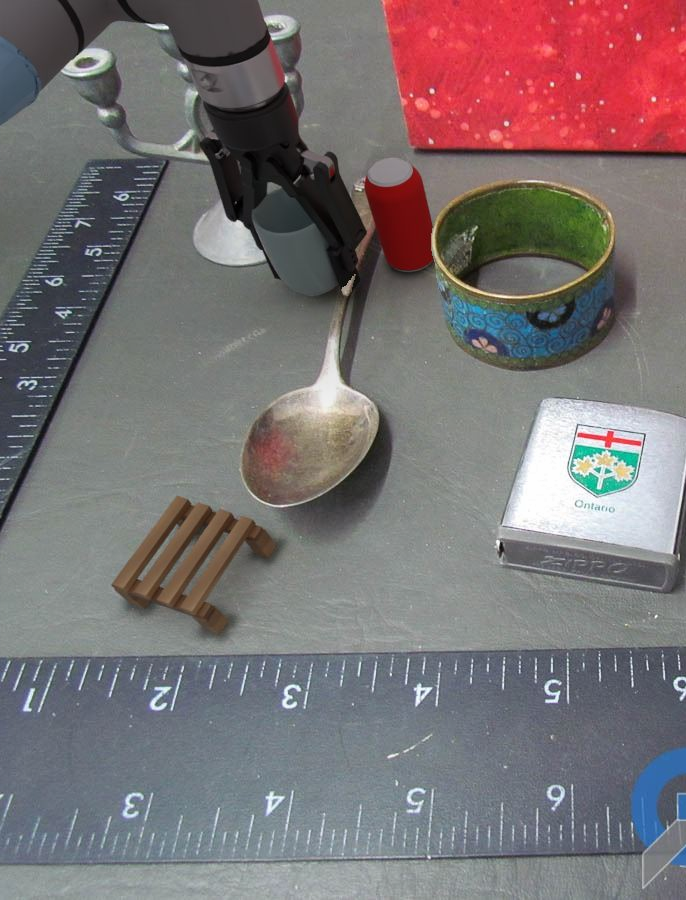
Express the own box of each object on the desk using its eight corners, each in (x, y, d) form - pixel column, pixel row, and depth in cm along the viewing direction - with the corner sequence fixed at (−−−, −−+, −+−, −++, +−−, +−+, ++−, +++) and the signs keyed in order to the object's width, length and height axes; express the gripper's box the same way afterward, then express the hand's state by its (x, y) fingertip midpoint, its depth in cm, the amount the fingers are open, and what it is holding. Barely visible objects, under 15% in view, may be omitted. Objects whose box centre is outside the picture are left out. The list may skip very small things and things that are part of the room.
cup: (268, 284, 92) (235, 211, 84) (323, 248, 95) (297, 175, 87) (312, 316, 89) (282, 245, 81) (367, 278, 92) (344, 205, 84)
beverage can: (381, 276, 94) (353, 188, 84) (392, 239, 97) (367, 151, 88) (434, 277, 94) (412, 189, 84) (443, 241, 97) (424, 152, 87)
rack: (130, 604, 71) (104, 582, 67) (192, 518, 76) (170, 493, 72) (220, 635, 69) (198, 613, 66) (276, 545, 74) (259, 520, 70)
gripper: (119, 92, 73) (218, 281, 92) (325, 136, 69) (385, 324, 88) (170, 49, 77) (255, 238, 96) (367, 88, 73) (416, 277, 92)
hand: (317, 279), depth 92 cm, fingers closed on cup, 8 cm apart
